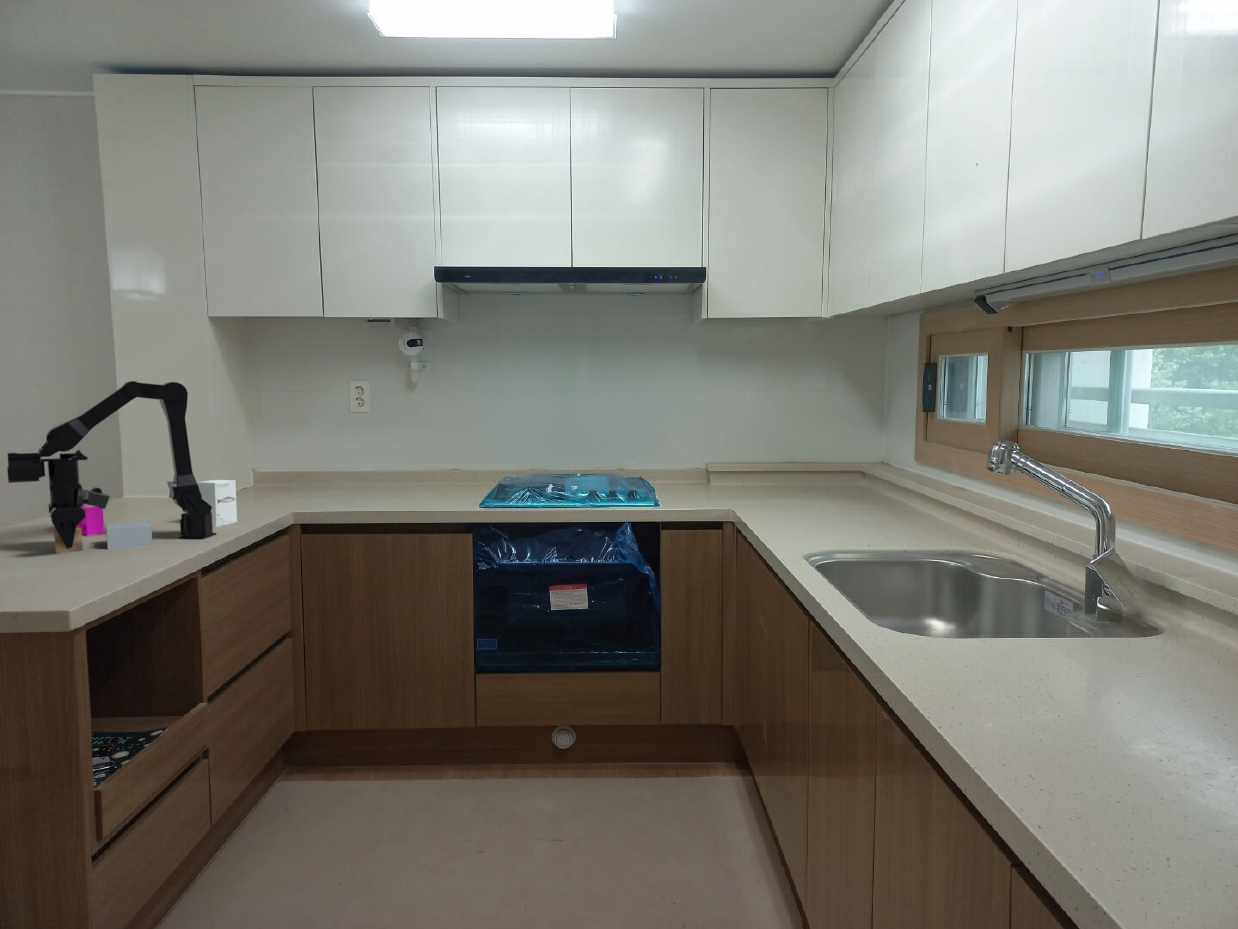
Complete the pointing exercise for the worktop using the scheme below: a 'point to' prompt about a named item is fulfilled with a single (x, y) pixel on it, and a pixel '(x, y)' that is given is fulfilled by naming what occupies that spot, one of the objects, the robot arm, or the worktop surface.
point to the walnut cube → (77, 542)
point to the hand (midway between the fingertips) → (68, 545)
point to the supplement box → (220, 500)
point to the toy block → (92, 521)
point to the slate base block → (128, 534)
